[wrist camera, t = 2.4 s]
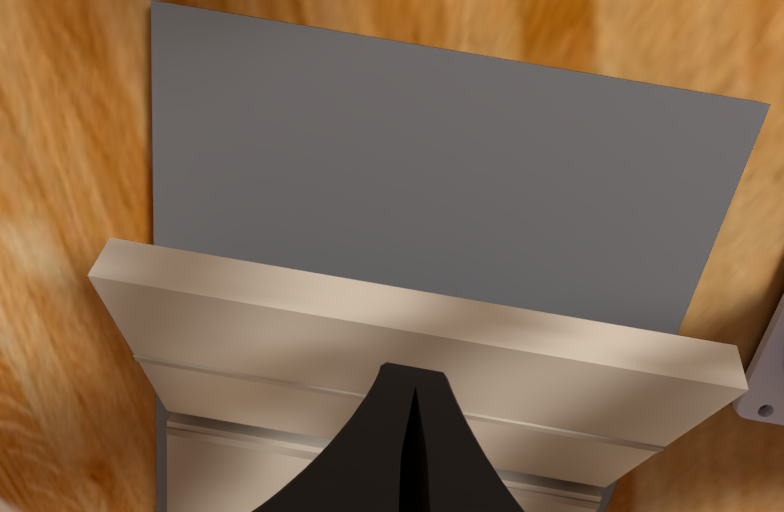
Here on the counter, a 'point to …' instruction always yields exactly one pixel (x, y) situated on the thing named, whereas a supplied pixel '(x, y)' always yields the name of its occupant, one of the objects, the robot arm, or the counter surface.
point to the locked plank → (296, 469)
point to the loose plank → (408, 359)
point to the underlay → (436, 170)
